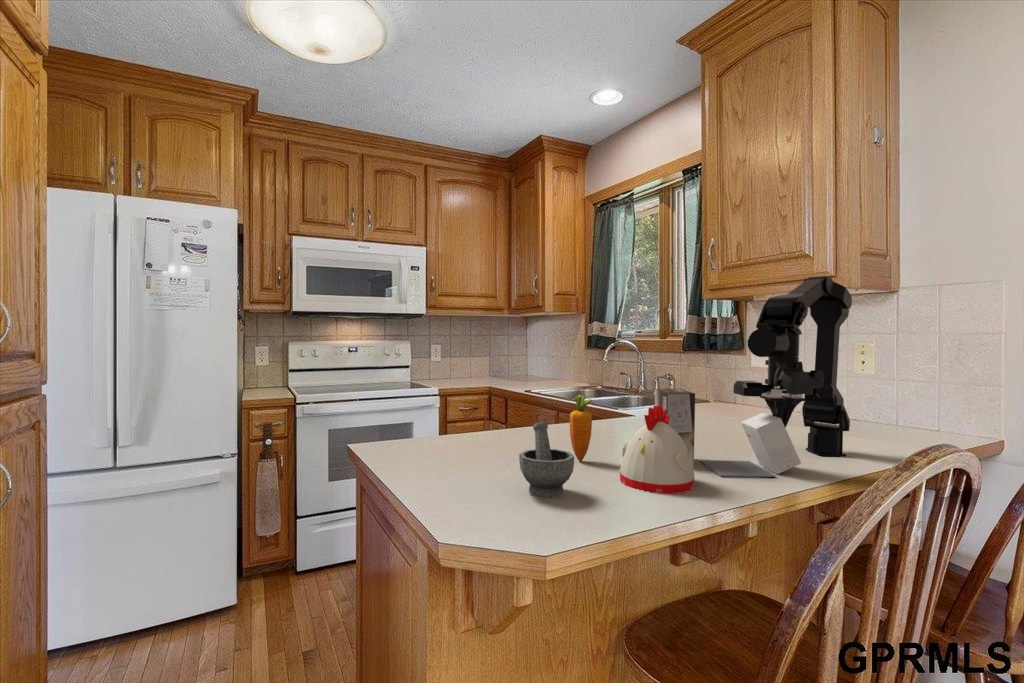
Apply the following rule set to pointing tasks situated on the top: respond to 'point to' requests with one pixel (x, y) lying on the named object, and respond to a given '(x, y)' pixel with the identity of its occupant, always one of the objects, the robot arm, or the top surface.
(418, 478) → the top surface
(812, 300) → the robot arm
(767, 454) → the small box
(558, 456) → the mortar and pestle
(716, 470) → the mat
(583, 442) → the carrot
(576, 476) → the top surface
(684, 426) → the coffee box
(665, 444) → the kitchen timer
